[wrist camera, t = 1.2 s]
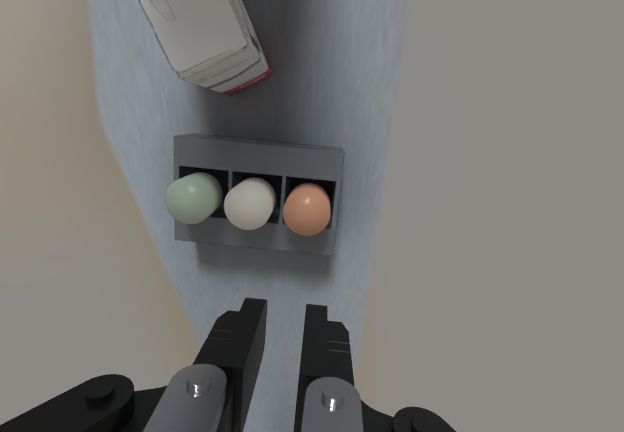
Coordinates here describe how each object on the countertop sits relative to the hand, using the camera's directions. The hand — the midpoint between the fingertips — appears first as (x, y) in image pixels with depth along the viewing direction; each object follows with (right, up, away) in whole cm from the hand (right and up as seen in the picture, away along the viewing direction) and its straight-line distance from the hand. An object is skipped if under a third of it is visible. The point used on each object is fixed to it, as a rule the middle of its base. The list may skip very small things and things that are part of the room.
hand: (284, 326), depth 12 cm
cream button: (-4, +5, +18) cm, 19 cm away
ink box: (-6, +20, +19) cm, 28 cm away
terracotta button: (+1, +5, +18) cm, 18 cm away
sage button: (-8, +6, +18) cm, 20 cm away
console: (-4, +7, +22) cm, 23 cm away
